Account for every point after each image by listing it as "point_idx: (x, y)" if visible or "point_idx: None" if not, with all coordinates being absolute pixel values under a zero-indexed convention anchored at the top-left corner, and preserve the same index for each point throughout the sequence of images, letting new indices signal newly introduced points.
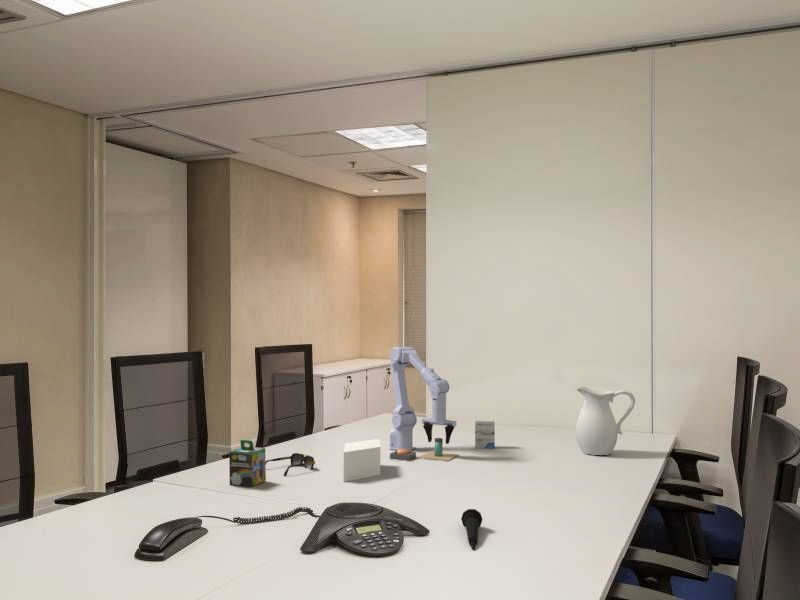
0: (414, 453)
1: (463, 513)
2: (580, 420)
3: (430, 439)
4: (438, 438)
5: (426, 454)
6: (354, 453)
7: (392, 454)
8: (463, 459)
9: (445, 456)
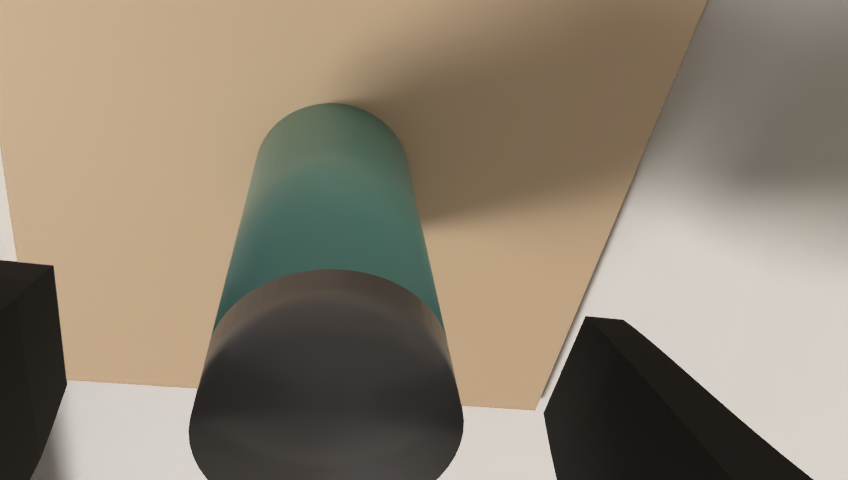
0: None
1: None
2: None
3: (33, 401)
4: (319, 429)
5: (57, 132)
6: None
7: None
8: (762, 228)
9: (472, 191)
